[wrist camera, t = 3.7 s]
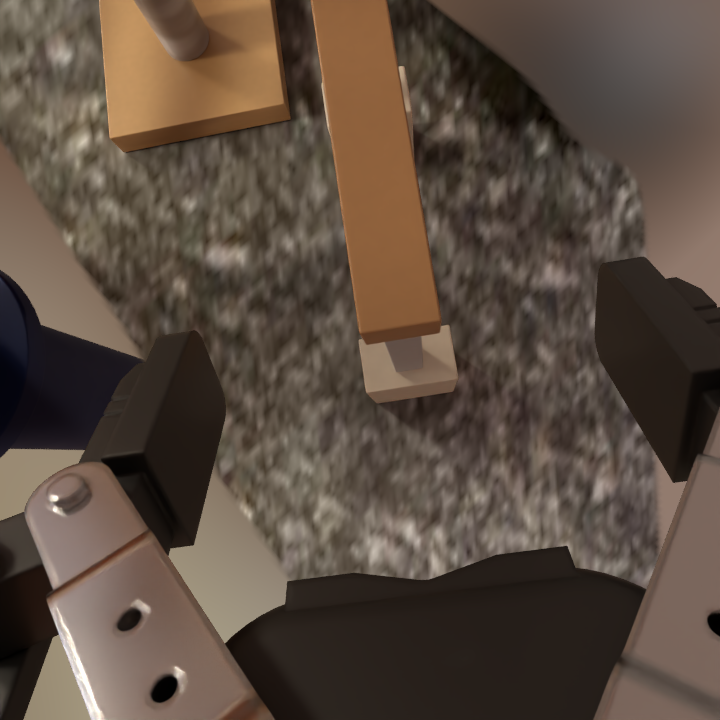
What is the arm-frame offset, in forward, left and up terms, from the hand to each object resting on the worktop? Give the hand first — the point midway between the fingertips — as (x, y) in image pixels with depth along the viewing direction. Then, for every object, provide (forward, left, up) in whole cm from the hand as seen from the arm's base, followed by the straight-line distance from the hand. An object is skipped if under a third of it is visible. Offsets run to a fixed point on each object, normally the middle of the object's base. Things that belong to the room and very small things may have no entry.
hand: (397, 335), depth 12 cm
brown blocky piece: (+5, +6, -19) cm, 21 cm away
